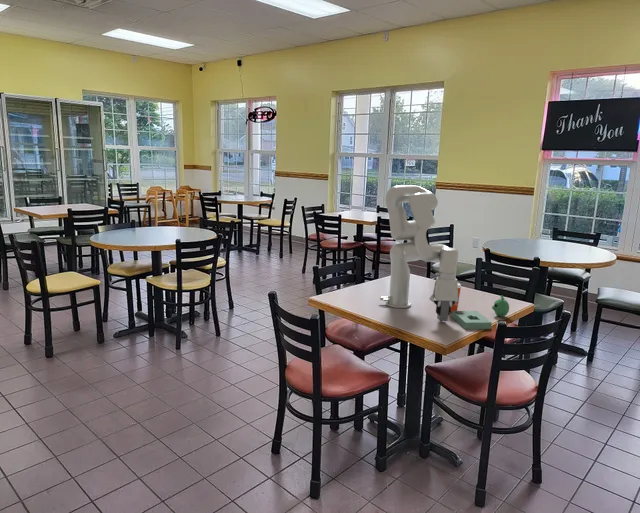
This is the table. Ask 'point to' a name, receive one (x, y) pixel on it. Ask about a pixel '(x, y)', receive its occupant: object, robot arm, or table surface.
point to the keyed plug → (444, 311)
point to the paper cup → (455, 305)
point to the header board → (471, 320)
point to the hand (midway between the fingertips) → (442, 313)
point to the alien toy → (501, 307)
